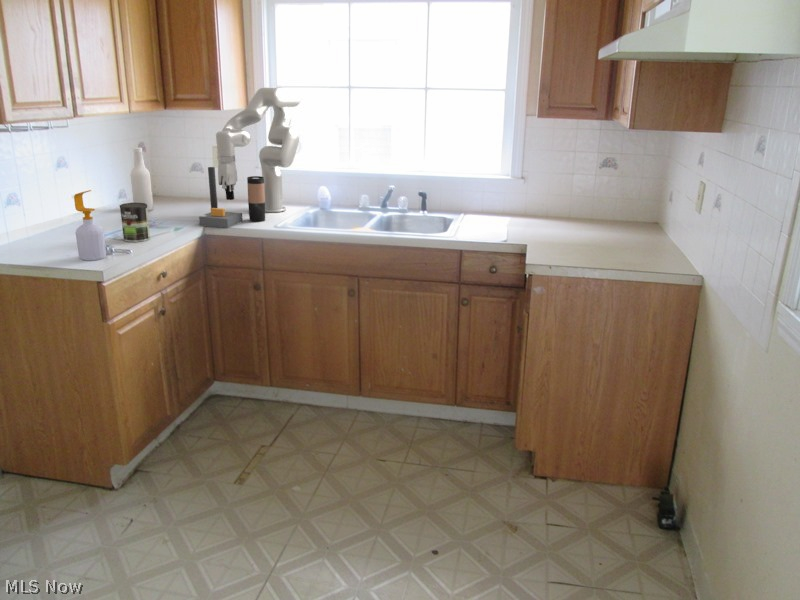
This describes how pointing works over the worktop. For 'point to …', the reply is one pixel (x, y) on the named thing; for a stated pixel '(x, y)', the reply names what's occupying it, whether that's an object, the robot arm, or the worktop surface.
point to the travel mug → (256, 198)
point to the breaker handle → (217, 212)
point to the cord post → (212, 187)
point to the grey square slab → (221, 220)
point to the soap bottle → (89, 234)
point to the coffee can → (135, 222)
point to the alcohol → (141, 181)
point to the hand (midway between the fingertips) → (230, 199)
